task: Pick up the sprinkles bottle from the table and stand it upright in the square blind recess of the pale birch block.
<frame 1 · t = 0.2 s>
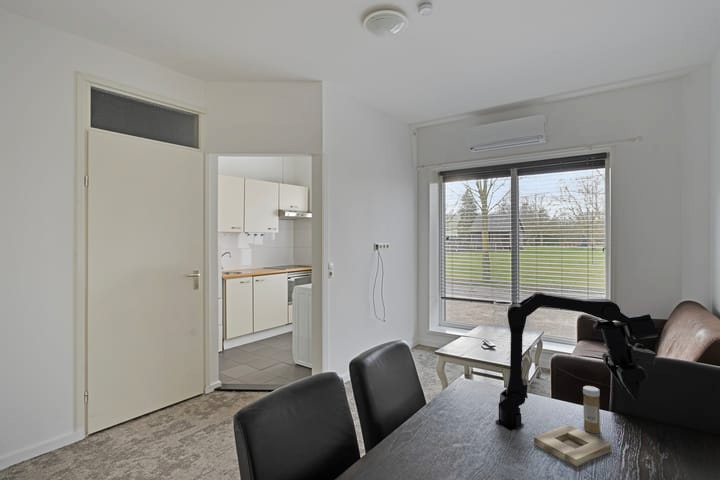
hand: (631, 393, 109), 15 cm above the table, tool pointing down, fingers open, 9 cm apart
socket block: (571, 447, 108), on the table
sprinkles bottle: (591, 430, 117), on the table
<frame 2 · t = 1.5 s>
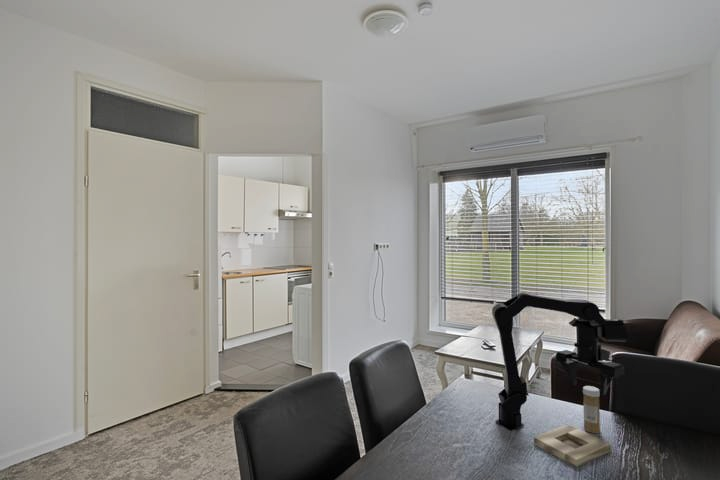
hand: (588, 389, 116), 13 cm above the table, tool pointing down, fingers open, 9 cm apart
nothing on the table moved.
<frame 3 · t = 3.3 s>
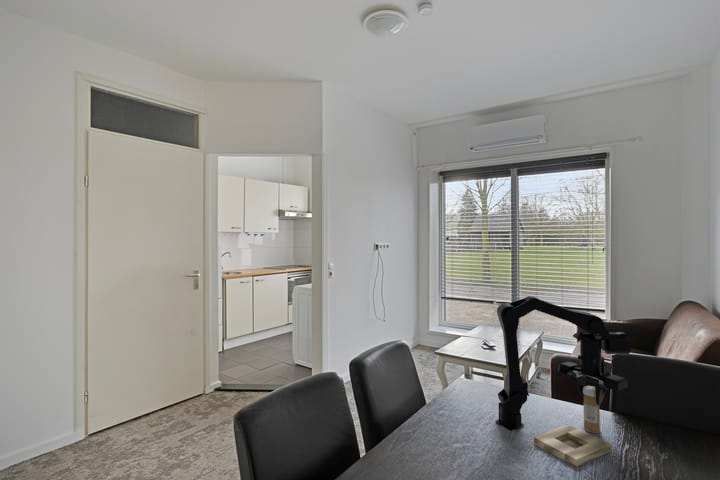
hand: (591, 401, 117), 9 cm above the table, tool pointing down, fingers closed on sprinkles bottle, 4 cm apart
sprinkles bottle: (591, 430, 117), on the table, touching gripper
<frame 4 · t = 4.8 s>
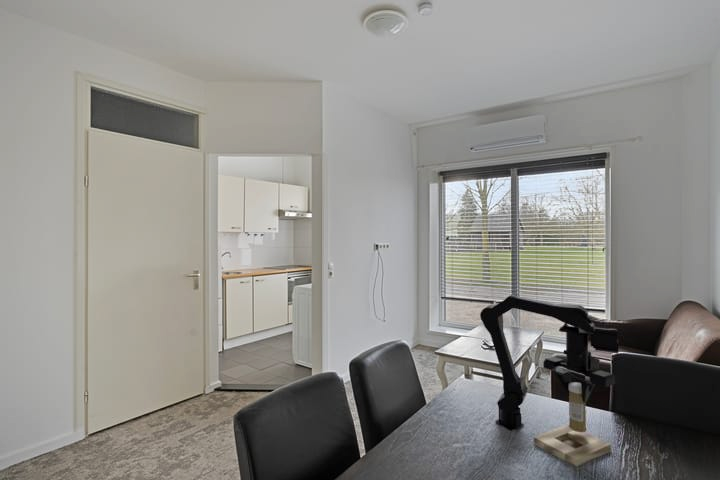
hand: (577, 399, 111), 13 cm above the table, tool pointing down, fingers closed on sprinkles bottle, 4 cm apart
sprinkles bottle: (577, 429, 111), point 4 cm above the table, touching gripper
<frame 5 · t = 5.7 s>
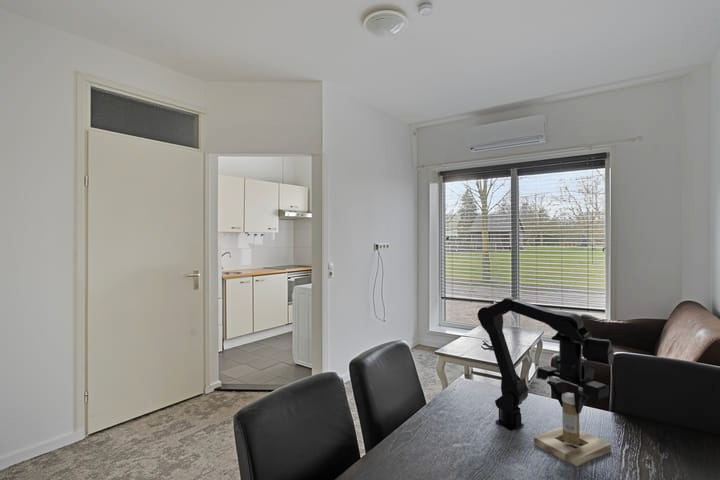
hand: (570, 410, 108), 11 cm above the table, tool pointing down, fingers closed on sprinkles bottle, 4 cm apart
sprinkles bottle: (571, 441, 108), point 2 cm above the table, touching gripper
when the fingers open (10 cm above the table, at t = 6.6 s): sprinkles bottle stays where it is, resting on socket block.
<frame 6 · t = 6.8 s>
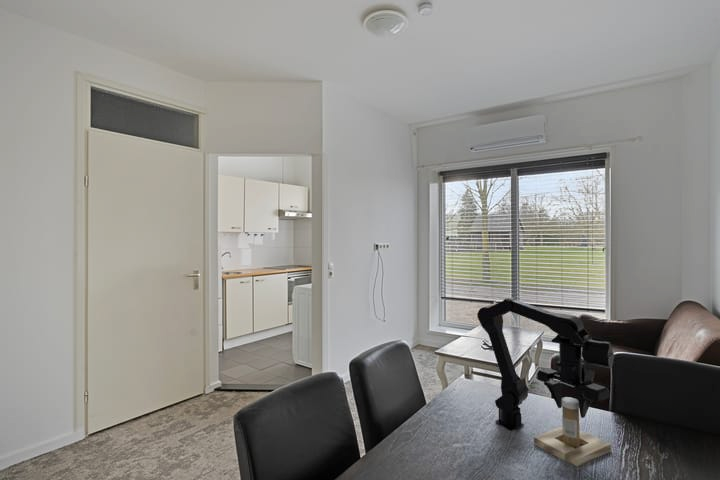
hand: (571, 412, 108), 10 cm above the table, tool pointing down, fingers open, 7 cm apart
sprinkles bottle: (571, 446, 108), resting on socket block
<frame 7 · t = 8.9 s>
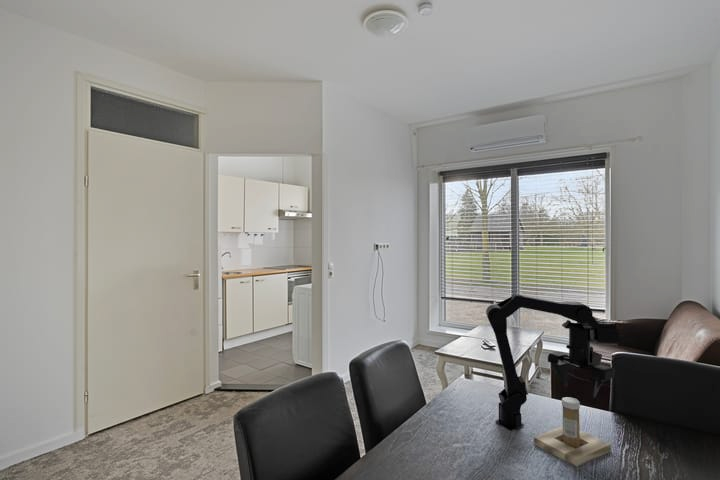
hand: (579, 391, 117), 13 cm above the table, tool pointing down, fingers open, 9 cm apart
nothing on the table moved.
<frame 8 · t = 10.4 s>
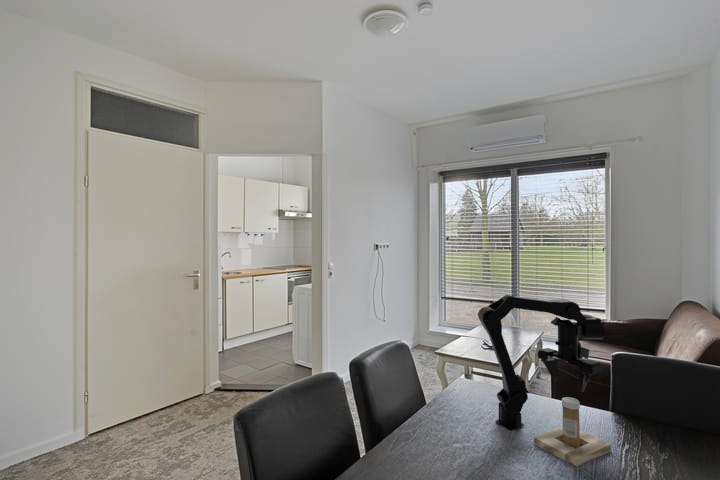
hand: (568, 386, 120), 13 cm above the table, tool pointing down, fingers open, 9 cm apart
nothing on the table moved.
at the end: sprinkles bottle 0.1 cm off-centre on the socket block, point 0.3 cm above the socket block's base; sprinkles bottle tilted 0°; the gripper is holding nothing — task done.
